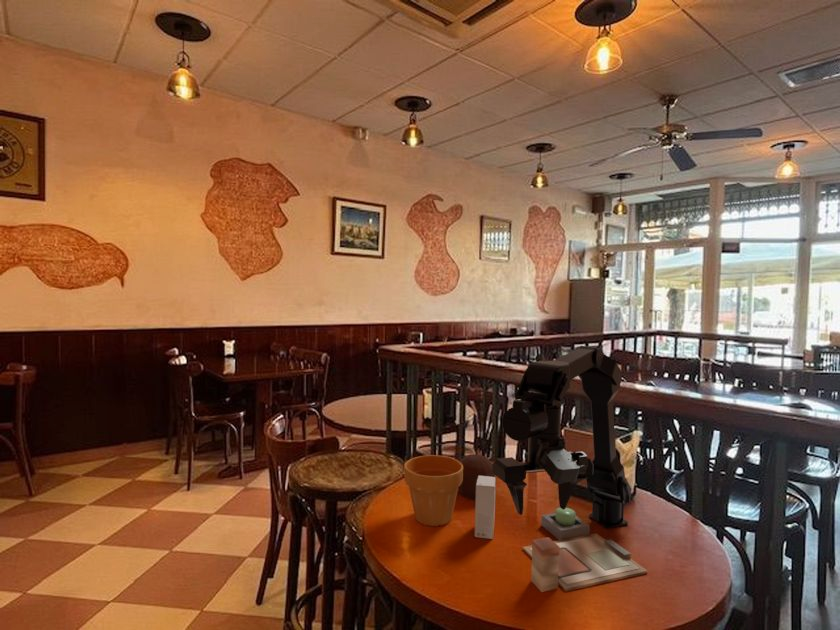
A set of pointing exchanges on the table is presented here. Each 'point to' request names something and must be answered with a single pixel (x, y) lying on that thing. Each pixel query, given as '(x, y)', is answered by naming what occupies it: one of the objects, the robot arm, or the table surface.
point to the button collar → (565, 532)
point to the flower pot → (433, 487)
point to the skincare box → (485, 507)
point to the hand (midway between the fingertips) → (541, 511)
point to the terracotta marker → (545, 564)
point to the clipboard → (592, 562)
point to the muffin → (473, 473)
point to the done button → (565, 517)
